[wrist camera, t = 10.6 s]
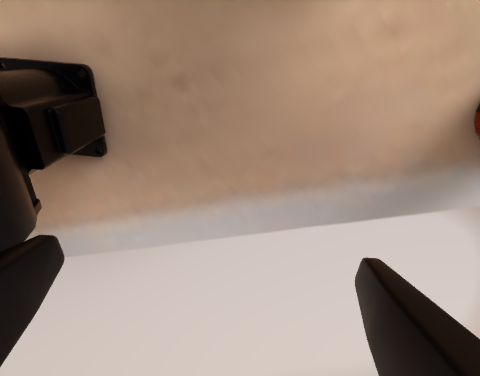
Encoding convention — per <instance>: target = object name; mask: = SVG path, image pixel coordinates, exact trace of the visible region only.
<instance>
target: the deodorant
mask: <svg viewBox="0 0 480 376" xmlns="http://www.w3.org/2000/svg"><path fill="white" fill-rule="evenodd" d="M474 123H475V129H476V133H477V135H478V137H479V138H480V104H479V107H478V109H477V111H476V117H475V122H474Z"/></svg>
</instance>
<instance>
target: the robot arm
mask: <svg viewBox="0 0 480 376" xmlns="http://www.w3.org/2000/svg"><path fill="white" fill-rule="evenodd" d="M2 63H3V64H4V66H5V68H4V67H3V66H2ZM82 69H83V70H84V71H85V73H86V75H85V76H84V75H83V74H82V72H81V71H82ZM104 134H105V128H104V123H103V118H102V112H101V107H100V102H99V99H98V98H97V94H96V89H95V83H94V78H93V73H92V70H91V69H90V67H88V66H87V65H85V64H75V63H64V62H52V61H41V60H29V59H17V58H6V57H0V367H1V365H2V364H3V362H4V361H5V359H6V358H7V356H8V355H9V353H10V352H11V350H12V349H13V347H14V346H15V344H16V343H17V341H18V340H19V338H20V337H21V335H22V334H23V332H24V331H25V329H26V328H27V326H28V324H29V323H30V322H31V320H32V319H33V317H34V315H35V314H36V312H37V311H38V309H39V307H40V305H41V304H42V302H43V300H44V298H45V296H46V294H47V293H48V291H49V289H50V287H51V285H52V284H53V282H54V280H55V278H56V276H57V274H58V273H59V271H60V269H61V267H62V265H63V263H64V254H63V251H62V249H61V246H60V244H59V241H58V239H57V238H56V237H55V236H53V235H38V236H36V237H33V238H31V239H29V240H27V241H25V240H26V239H27V237H28V236H29V235H30V233H31V232H32V231H33V230H34V228H35V226H36V220H37V214H38V212H39V211H40V209H41V207H42V206H41V203H40V200H39V199H37V198H36V195H35V192H34V189H33V186H32V183H31V180H30V177H29V175H30V174H32V173H33V172H35V171H37V170H43V169H45V168H46V167H48V166H50V165H52V164H53V163H55V162H57V161H58V160H60V159H62V158H64V157H65V156H67V155H71V154H73V155H83V156H94V157H102V156H104V155H105V154H106V153H107V147H106V141H105V136H104ZM97 148H99V149H100V150H101V152H99V151H98V149H97ZM355 287H356V292H357V296H358V301H359V305H360V310H361V315H362V319H363V324H364V328H365V332H366V336H367V340H368V343H369V347H370V350H371V353H372V356H373V359H374V362H375V365H376V368H377V371H378V374H379V376H480V339H479V338H478V337H476V336H475V335H474V334H473V333H471V332H470V331H469V330H468V329H466V328H465V327H464V326H463V325H461V324H460V323H459V322H458V321H456V320H455V319H454V318H452V317H451V316H450V315H449V314H448V313H446V312H445V311H444V310H443V309H441V308H440V307H439V306H437V305H436V304H435V303H434V302H432V301H431V300H430V299H429V298H428V297H426V296H425V295H424V294H423V293H421V292H420V291H418V290H417V289H416V288H415V287H414V286H412V285H411V284H410V283H409V282H407V281H406V280H405V279H404V278H402V277H401V276H400V275H399V274H397V273H396V272H395V271H394V270H392V269H391V268H390V267H389V266H387V265H386V264H385V263H384V262H382V261H381V260H379V259H377V258H363V259H362V261H361V263H360V266H359V269H358V272H357V274H356V277H355Z"/></svg>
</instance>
